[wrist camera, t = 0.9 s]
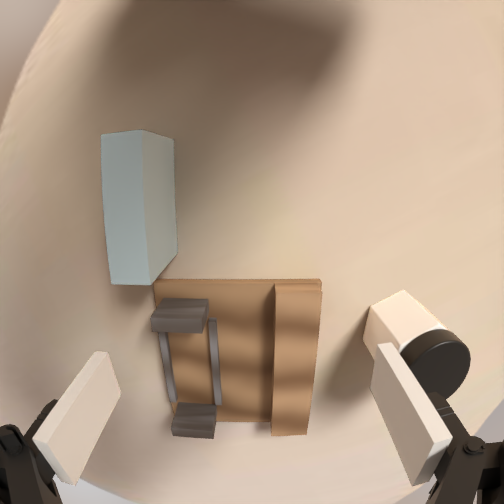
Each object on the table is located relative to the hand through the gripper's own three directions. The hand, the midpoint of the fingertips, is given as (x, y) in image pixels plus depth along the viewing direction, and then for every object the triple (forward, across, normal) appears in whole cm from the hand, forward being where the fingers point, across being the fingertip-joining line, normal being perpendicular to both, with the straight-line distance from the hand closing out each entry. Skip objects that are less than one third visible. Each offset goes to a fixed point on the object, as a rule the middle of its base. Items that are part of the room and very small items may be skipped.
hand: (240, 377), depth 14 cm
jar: (+21, +17, -10) cm, 29 cm away
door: (+21, -9, +7) cm, 24 cm away
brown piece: (+20, -2, -13) cm, 24 cm away
